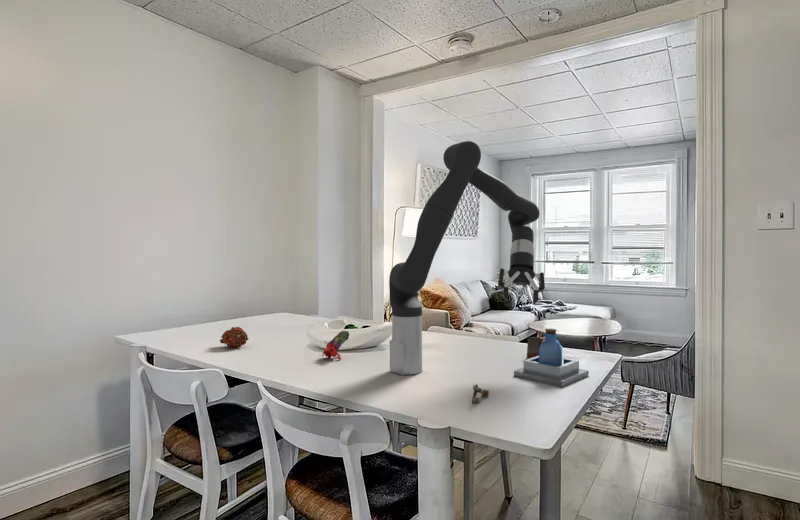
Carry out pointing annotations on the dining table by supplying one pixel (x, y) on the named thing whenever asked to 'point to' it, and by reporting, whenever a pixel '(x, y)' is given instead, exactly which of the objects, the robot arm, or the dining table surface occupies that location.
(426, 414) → the dining table surface
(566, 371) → the grey square frame
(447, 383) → the dining table surface
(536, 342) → the electronic device
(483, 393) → the wooden post with brackets
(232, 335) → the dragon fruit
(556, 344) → the perfume bottle
